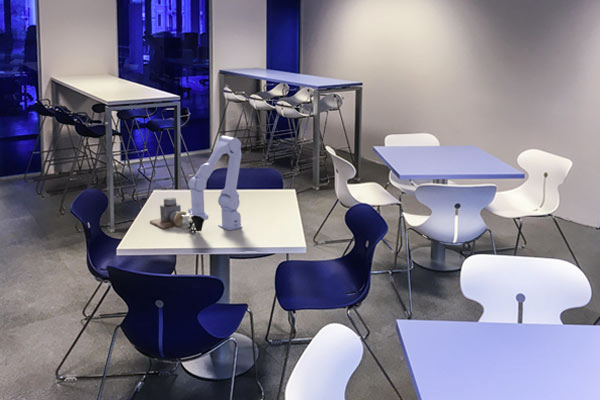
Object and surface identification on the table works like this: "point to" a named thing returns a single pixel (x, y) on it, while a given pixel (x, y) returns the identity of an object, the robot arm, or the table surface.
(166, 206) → the pipe stand
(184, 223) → the valve
